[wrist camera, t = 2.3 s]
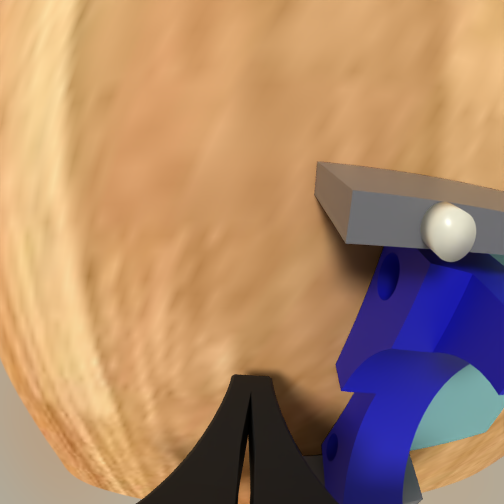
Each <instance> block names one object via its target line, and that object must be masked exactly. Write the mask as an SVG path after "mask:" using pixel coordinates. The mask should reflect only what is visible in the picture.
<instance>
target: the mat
mask: <svg viewBox="0 0 504 504" xmlns="http://www.w3.org/2000/svg"><path fill="white" fill-rule="evenodd" d="M490 255H491V256H492V257H494V258H495V259H496V260H497V261H499V262H500V263H501V264H502V265H503V266H504V255H499V254H490ZM503 408H504V395H498V394H497V392H496V391H495V389H494V388H493V386H492V385H491V383H490V382H489V381H488V380H487V379H486V378H485V377H484V376H483V374H482V373H481V372H480V371H479V370H477V369H476V368H475V367H474V366H472V365H471V364H469V365H468V366H466V367H464V368H463V369H461V370H460V371H458V372H457V373H456V374H455V375H454V376H452V377H451V378H450V379H449V380H448V381H447V382H446V383H445V384H444V386H443V387H442V388H441V389H440V390H439V391H438V393H437V394H436V396H435V397H434V398H433V400H432V401H431V403H430V405H429V406H428V408H427V410H426V412H425V413H424V415H423V417H422V419H421V421H420V424H419V426H418V428H417V431H416V433H415V436H414V439H413V442H412V445H411V448H410V451H411V450H416V449H421V448H426V447H431V446H435V445H440V444H444V443H448V442H452V441H456V440H460V439H464V438H467V437H471V436H474V435H478V434H481V433H484V432H486V431H487V430H488V429H489V427H490V426H491V425H492V423H493V422H494V421H495V419H496V418H497V417H498V415H499V414H500V413H501V411H502V410H503Z"/></svg>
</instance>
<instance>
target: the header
mask: <svg viewBox="0 0 504 504" xmlns="http://www.w3.org/2000/svg"><path fill="white" fill-rule="evenodd" d="M314 195H315V196H316V198H317V199H318V201H319V202H320V204H321V205H322V207H323V208H324V210H325V212H326V213H327V215H328V216H329V218H330V219H331V221H332V223H333V224H334V226H335V227H336V229H337V231H338V232H339V234H340V235H341V237H342V239H343V240H344V242H345V243H347V244H363V245H378V246H392V247H407V248H421V249H431V250H432V251H433V252H434V253H435V254H436V255H437V256H439V257H440V258H441V259H442V260H444V261H447V262H455V261H458V260H460V259H462V258H463V257H464V256H466V255H467V254H468V252H474V253H486V254H499V255H504V192H503V191H499V190H495V189H491V188H486V187H482V186H477V185H473V184H468V183H463V182H458V181H453V180H448V179H442V178H437V177H431V176H425V175H419V174H413V173H407V172H400V171H394V170H387V169H379V168H372V167H364V166H356V165H347V164H338V163H328V162H317V171H316V182H315V193H314ZM303 457H304V459H305V460H306V462H307V464H308V465H309V467H310V468H311V470H312V471H313V472H314V474H315V475H316V477H317V478H318V479H319V481H320V482H321V483H322V484H323V486H324V487H325V478H324V467H323V456H322V455H317V456H303ZM422 499H423V498H422V494H421V491H420V487H419V484H418V480H417V477H416V474H415V470H414V467H413V464H412V461H411V457H410V454H409V455H408V460H407V464H406V469H405V475H404V483H403V504H418V503H419V502H420V501H421V500H422Z"/></svg>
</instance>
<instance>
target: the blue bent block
mask: <svg viewBox="0 0 504 504" xmlns="http://www.w3.org/2000/svg"><path fill="white" fill-rule="evenodd" d="M469 364H471V365H472V366H474V367H475V368H476V369H477V370H479V371H480V372H481V373H482V374H483V376H484V377H485V378H486V379H487V380H488V381H489V382H490V383H491V385H492V386H493V388H494V389H495V391H496V392H497V394H498V395H504V266H503V265H502V264H501V263H500V262H499V261H497V260H496V259H495V258H494V257H492V256H491V255H490V254H486V253H474V252H468V254H467V255H466V256H464V257H463V258H462V259H460V260H458V261H455V262H447V261H444V260H442V259H441V258H440V257H439V256H437V255H436V254H435V253H434V252H433V251H432V250H431V249H421V248H407V247H392V246H384V248H383V251H382V254H381V256H380V259H379V262H378V265H377V267H376V270H375V273H374V275H373V278H372V281H371V283H370V286H369V288H368V291H367V293H366V296H365V298H364V301H363V303H362V306H361V308H360V311H359V313H358V315H357V318H356V320H355V323H354V325H353V327H352V329H351V332H350V334H349V336H348V339H347V341H346V343H345V345H344V347H343V350H342V352H341V354H340V356H339V358H338V360H337V362H336V368H337V373H338V378H339V383H340V388H341V391H347V392H355V393H354V394H353V396H352V398H351V399H350V401H349V403H348V404H347V406H346V408H345V409H344V411H343V413H342V414H341V416H340V417H339V419H338V420H337V422H336V424H335V425H334V427H333V428H332V430H331V431H330V433H329V434H328V436H327V437H326V439H325V440H324V442H323V443H322V445H321V446H322V456H323V467H324V478H325V488H326V489H327V491H328V492H329V493H330V494H331V495H332V497H333V498H334V499H335V500H336V501H337V502H338V503H339V504H403V483H404V475H405V469H406V464H407V460H408V455H409V452H410V448H411V445H412V442H413V439H414V436H415V433H416V431H417V428H418V426H419V424H420V421H421V419H422V417H423V415H424V413H425V412H426V410H427V408H428V406H429V405H430V403H431V401H432V400H433V398H434V397H435V396H436V394H437V393H438V391H439V390H440V389H441V388H442V387H443V386H444V384H445V383H446V382H447V381H448V380H449V379H450V378H451V377H452V376H454V375H455V374H456V373H457V372H458V371H460V370H461V369H463V368H464V367H466V366H468V365H469Z"/></svg>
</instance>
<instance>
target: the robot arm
mask: <svg viewBox="0 0 504 504" xmlns="http://www.w3.org/2000/svg"><path fill="white" fill-rule="evenodd" d="M247 438H248V441H249V463H250V491H251V493H250V504H339V503H338V502H337V501H336V500H335V499H334V498H333V497H332V495H331V494H330V493H329V492H328V491H327V489H326V488H325V487H324V486H323V484H322V483H321V482H320V481H319V479H318V478H317V477H316V475H315V474H314V472H313V471H312V470H311V468H310V467H309V465H308V464H307V462H306V460H305V459H304V457H303V456H302V454H301V452H300V450H299V449H298V447H297V445H296V443H295V441H294V439H293V437H292V435H291V433H290V431H289V429H288V427H287V425H286V422H285V420H284V418H283V415H282V413H281V410H280V408H279V405H278V402H277V399H276V395H275V392H274V388H273V383H272V378H271V377H269V376H253V375H237V374H235V375H233V376H232V377H231V381H230V384H229V387H228V390H227V392H226V394H225V397H224V399H223V401H222V403H221V405H220V407H219V409H218V411H217V412H216V414H215V416H214V418H213V420H212V421H211V423H210V425H209V426H208V428H207V429H206V431H205V432H204V434H203V435H202V437H201V438H200V440H199V441H198V442H197V444H196V445H195V447H194V448H193V449H192V450H191V452H190V453H189V454H188V455H187V457H186V458H185V459H184V460H183V461H182V462H181V463H180V465H179V466H178V467H177V468H176V469H175V470H174V471H173V472H172V473H171V474H170V475H169V476H168V477H167V478H166V479H165V480H164V481H163V482H162V483H161V484H160V485H159V486H157V487H156V488H155V489H154V490H153V491H152V492H151V493H150V494H148V495H147V496H146V497H145V498H143V499H142V500H141V501H139V502H138V503H136V504H238V493H239V485H240V479H241V473H242V467H243V462H244V456H245V450H246V444H247Z"/></svg>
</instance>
